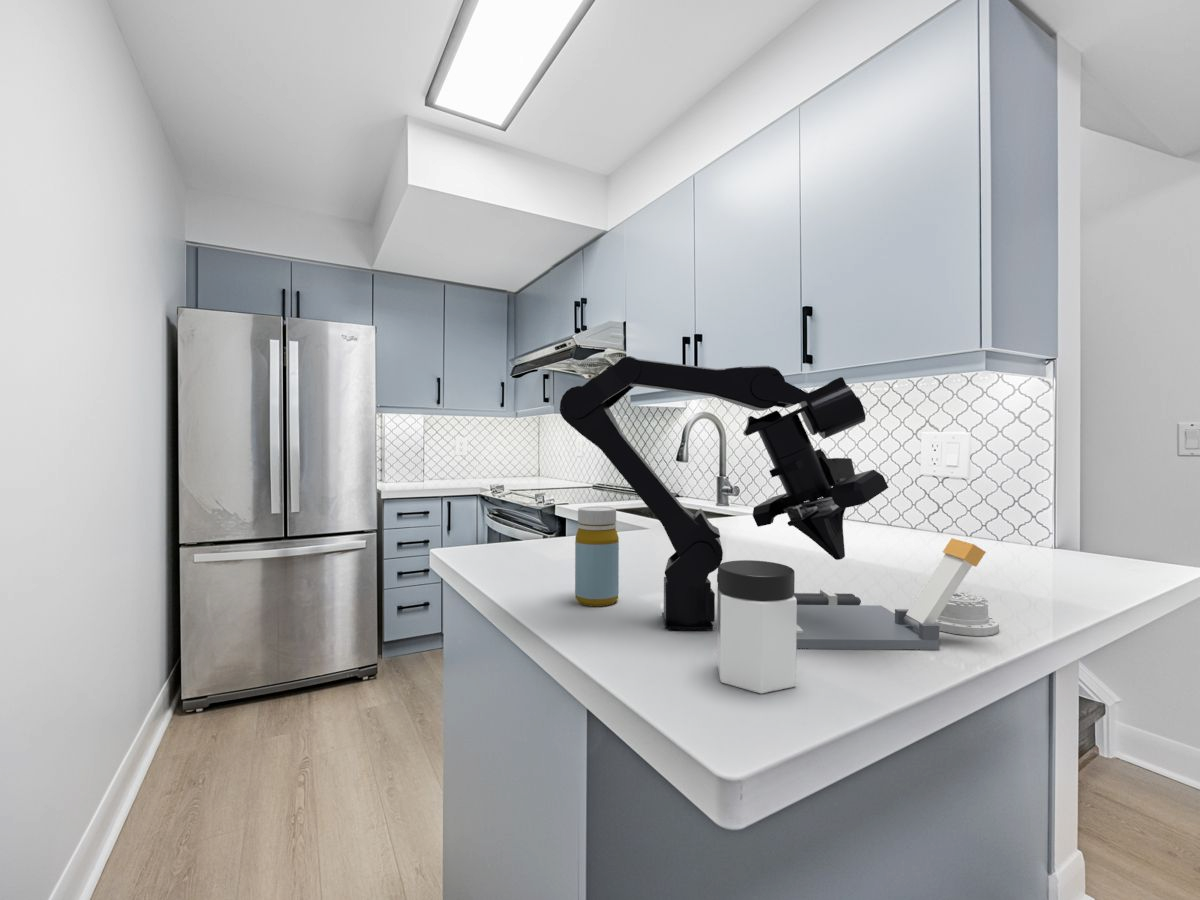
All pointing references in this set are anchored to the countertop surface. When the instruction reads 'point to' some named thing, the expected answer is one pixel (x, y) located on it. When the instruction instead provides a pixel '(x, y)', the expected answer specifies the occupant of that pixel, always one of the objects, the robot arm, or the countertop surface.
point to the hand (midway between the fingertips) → (840, 558)
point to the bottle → (596, 557)
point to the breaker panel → (861, 628)
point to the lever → (943, 582)
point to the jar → (756, 625)
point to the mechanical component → (967, 616)
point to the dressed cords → (826, 598)
